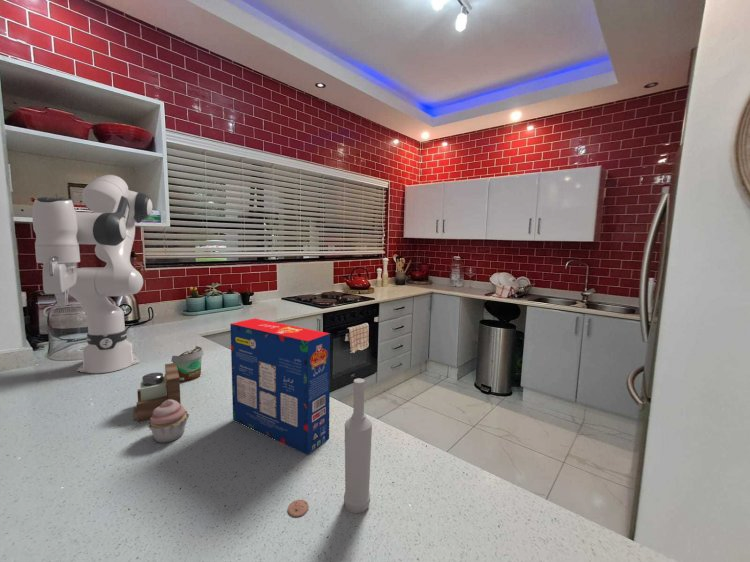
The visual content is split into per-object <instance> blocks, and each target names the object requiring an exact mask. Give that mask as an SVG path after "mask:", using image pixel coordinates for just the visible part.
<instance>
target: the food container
mask: <svg viewBox="0 0 750 562" xmlns="http://www.w3.org/2000/svg"><path fill="white" fill-rule="evenodd" d="M204 355H205V353H204V350H203V348H202V347H201V346H197V345H195V348H194V349H191V350H188V351H187V350H186V351H184V352H183V353H181V354H180V355H172V357H171V363H176V365H177V369H178V374H179V380H180V383H186V382H187V381H188V382H191V381H195V380H197V379H199V378H200V377H201V376H200V375H202V357H203V356H204Z"/></svg>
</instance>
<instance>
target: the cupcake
mask: <svg viewBox="0 0 750 562" xmlns="http://www.w3.org/2000/svg"><path fill="white" fill-rule="evenodd" d="M189 417H190V413H188V410H186V409H185V407H184V406H183V404H179V403H178V402H177V401H175V400H170V399H168V400H166V401H165V402H163V403H162V404H161V406H159V407H157V408H156V409H154V411H153V416H152V417H151V418H150V419H149V421H147V423H146V424H147V425H148V426H147V427H148V429H149V430H150V432H152V436H153V439H154V440H155V441H156V442H157V443H160V444H162V443H163V444H165V443H170V442H174V441H176V440H178V439H179V438H181V437H182V436H183V435H184V433H185V429H186V424H187V421H188V419H189Z"/></svg>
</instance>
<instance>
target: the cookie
mask: <svg viewBox="0 0 750 562" xmlns="http://www.w3.org/2000/svg"><path fill="white" fill-rule="evenodd" d="M309 508H310V507H309V503H308V501H306V500H305V499H295V500H293V501H291V502H290V503H289V504H288V507H287V512H288V514H289V516H291V517H292V518H293V517H294V518H299V517H302V516H304V515H306V514H307V513H308V511H309Z"/></svg>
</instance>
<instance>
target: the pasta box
mask: <svg viewBox="0 0 750 562" xmlns="http://www.w3.org/2000/svg"><path fill="white" fill-rule="evenodd" d="M330 349H331V333H330V332H329V333H328V332H323V331H320V330H319V331H318V330H314V329H309V328H305V327H299V326H294V325H290V324H285V323H279V322H274V321H269V320H264V319H260V318H254V317H253V318H251V319H246V320H241V321H237V322H232V323H230V352H231V353H230V358H231V361H230V362H231V389H232V391H231V392H232V393H231V395H232V421H233V420H234V421H233V422H235V421H237V422H239V423H241V424H243V425H245V426H244V427H246V426H247V427H246V428H248V427H249V428H248V429H250V428H252V429H254V430H255V431H254V430H253V431H254V432H256V431H258V432H257V433H259V432H260V433H259V434H261V433H262V434H261V435H263V434H264V435H263V436H265V435H267V436H268V437H267V436H266V437H267V438H269V437H270V439H272V438H273V439H272V440H274V439H275V440H274V441H276V442H278V441H279V442H278V443H280V442H281V444H283V445H285V446H286V447H289V448H291V449H293V448H294V449H293V450H295V451H298V452H300V453H302V454H305V455H306V454H307V456H309V455H310V454H311V453H313V452H314V451H315V450H317V449H318V448H319V447H321V446H322V445H323V444H324V443H326V442H327V441H328V440H329V439H330V402H331V401H330V398H331V397H330V392H331V391H330V386H331V385H330V384H331V383H330V382H331V381H330V380H331V378H330V377H331V376H330V375H331V372H330V371H331V352H330V351H331V350H330ZM237 422H236V423H237ZM239 423H238V424H239ZM241 424H240V425H241ZM243 425H242V426H243ZM252 429H251V430H252Z"/></svg>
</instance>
